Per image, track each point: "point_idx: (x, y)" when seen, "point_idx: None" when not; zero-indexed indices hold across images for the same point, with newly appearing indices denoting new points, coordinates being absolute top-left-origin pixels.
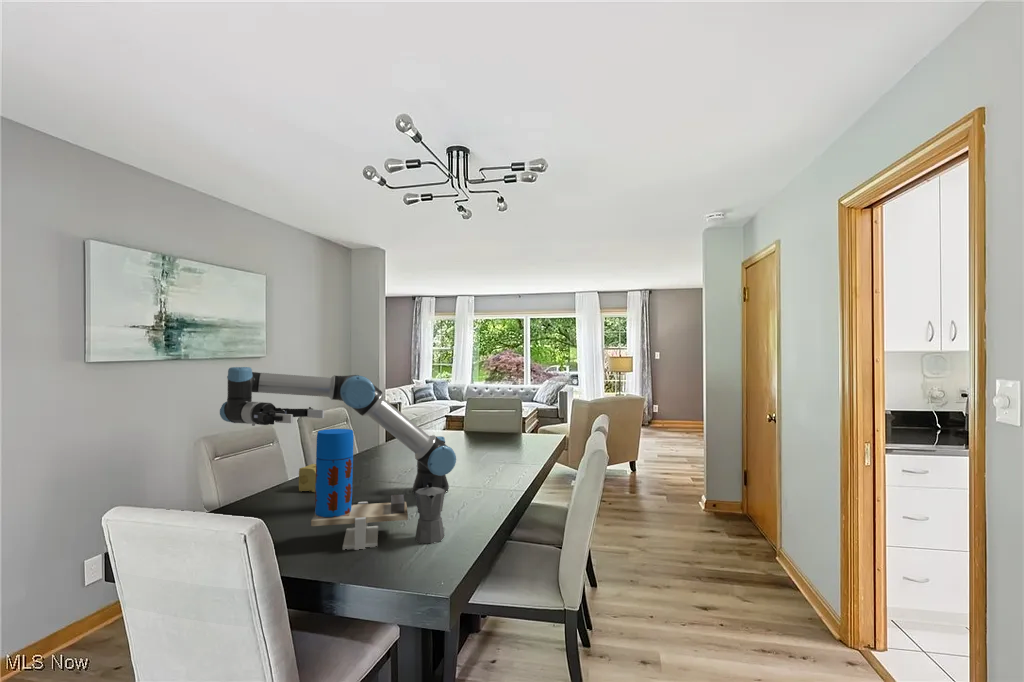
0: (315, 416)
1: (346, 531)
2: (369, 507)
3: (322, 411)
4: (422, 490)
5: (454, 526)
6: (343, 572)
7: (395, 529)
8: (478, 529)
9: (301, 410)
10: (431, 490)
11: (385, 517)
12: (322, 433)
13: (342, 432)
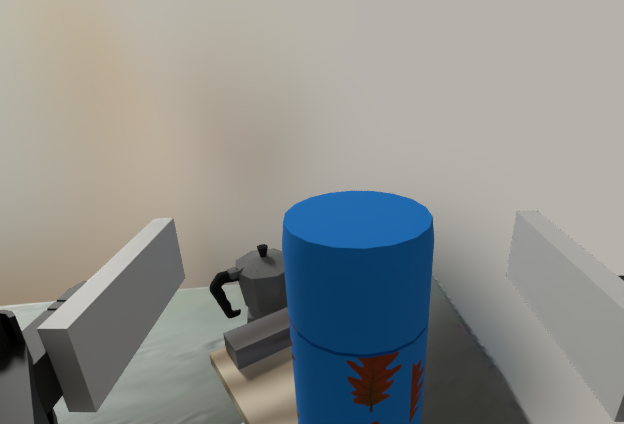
0: (152, 314)
1: None
2: (279, 398)
3: (174, 228)
4: (275, 264)
5: (201, 332)
6: (467, 382)
7: (233, 416)
8: (213, 302)
9: (38, 417)
10: (275, 254)
11: None
12: (431, 215)
13: (367, 196)
